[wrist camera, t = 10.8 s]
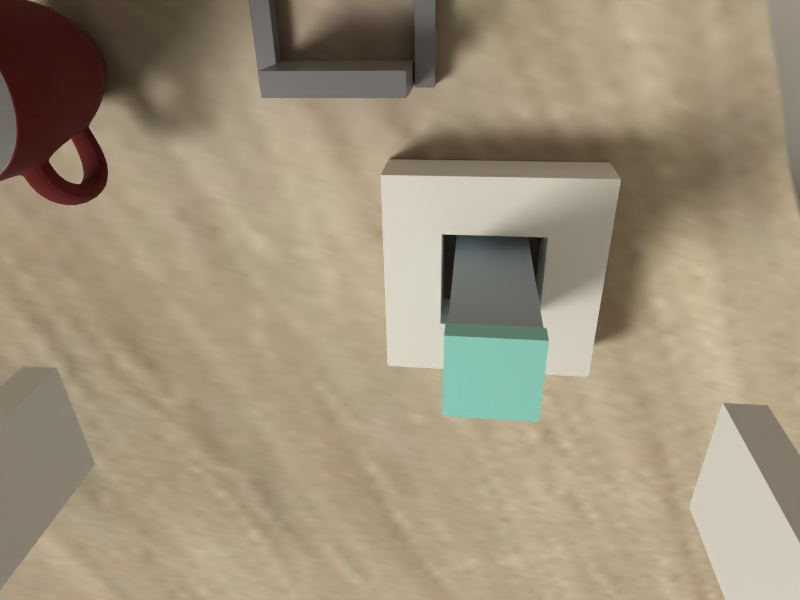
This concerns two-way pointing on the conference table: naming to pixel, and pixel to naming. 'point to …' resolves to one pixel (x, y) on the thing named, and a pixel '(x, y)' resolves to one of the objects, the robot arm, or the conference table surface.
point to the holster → (342, 63)
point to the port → (496, 216)
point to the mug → (48, 100)
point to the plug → (494, 332)
